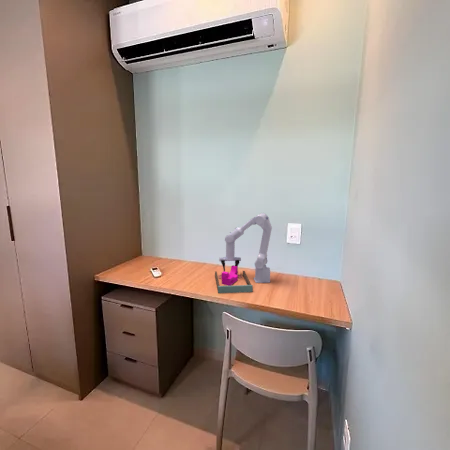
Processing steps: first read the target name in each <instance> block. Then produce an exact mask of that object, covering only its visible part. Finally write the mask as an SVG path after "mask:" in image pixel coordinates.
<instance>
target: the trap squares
mask: <svg viewBox="0 0 450 450" xmlns="http://www.w3.org/2000/svg"><path fill="white" fill-rule="evenodd" d="M217 275H218V280H222V274H217ZM238 279H244V277H243V274H238Z"/></svg>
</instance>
